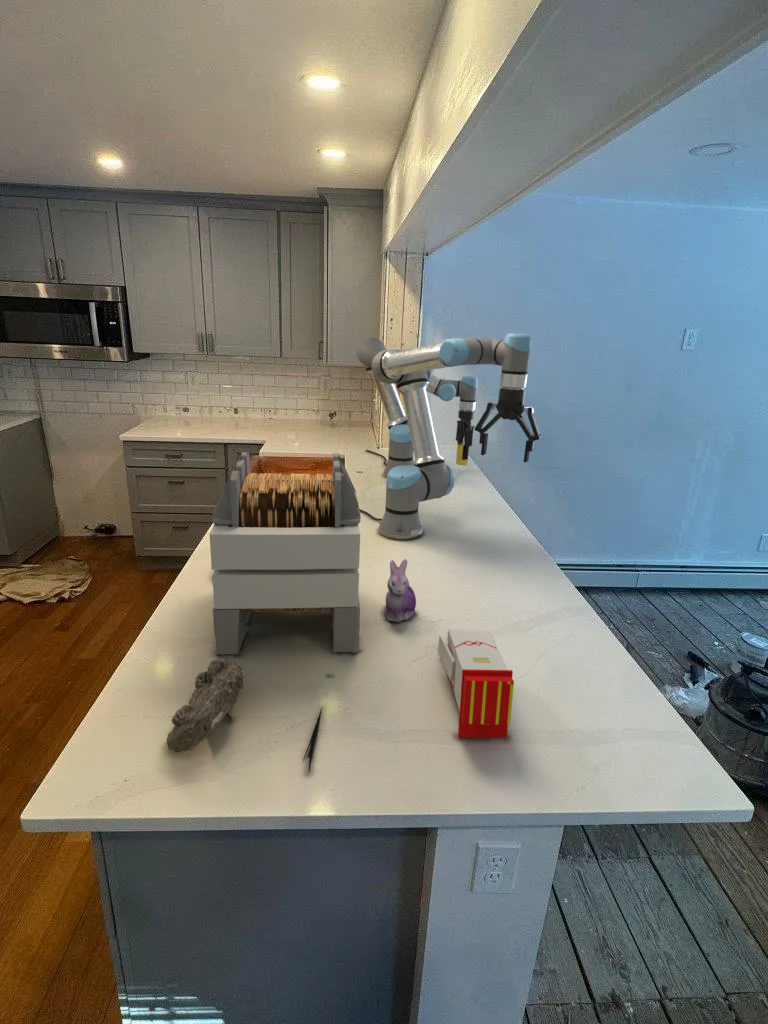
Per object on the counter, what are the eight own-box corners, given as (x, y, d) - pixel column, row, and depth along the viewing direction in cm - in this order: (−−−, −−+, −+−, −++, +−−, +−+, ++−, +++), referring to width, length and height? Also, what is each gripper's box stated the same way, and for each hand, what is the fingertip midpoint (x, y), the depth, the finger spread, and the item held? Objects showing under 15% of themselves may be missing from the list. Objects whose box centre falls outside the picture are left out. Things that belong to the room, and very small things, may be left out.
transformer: (234, 586, 158) (226, 442, 144) (351, 584, 161) (355, 445, 148) (213, 657, 126) (200, 481, 112) (359, 653, 130) (365, 483, 116)
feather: (331, 679, 122) (336, 673, 122) (307, 777, 96) (313, 769, 95) (324, 675, 122) (329, 669, 121) (298, 772, 95) (304, 764, 95)
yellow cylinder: (469, 464, 276) (471, 446, 273) (460, 465, 274) (462, 447, 270) (462, 462, 281) (464, 443, 278) (453, 463, 278) (455, 444, 275)
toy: (488, 613, 130) (523, 677, 101) (484, 667, 133) (517, 744, 104) (435, 612, 130) (455, 676, 101) (432, 666, 133) (451, 743, 103)
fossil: (192, 660, 117) (244, 628, 112) (224, 691, 120) (276, 661, 115) (142, 746, 98) (202, 712, 93) (182, 779, 101) (242, 748, 96)
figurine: (392, 627, 141) (395, 572, 136) (374, 608, 149) (376, 556, 144) (425, 619, 145) (429, 566, 140) (405, 601, 154) (408, 550, 149)
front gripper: (558, 391, 165) (547, 461, 172) (477, 382, 176) (470, 449, 184) (551, 394, 159) (541, 467, 166) (468, 384, 170) (462, 453, 177)
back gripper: (483, 413, 261) (477, 462, 269) (465, 406, 278) (460, 452, 285) (468, 413, 259) (463, 463, 267) (451, 406, 275) (447, 453, 283)
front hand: (504, 457), depth 175 cm, fingers open, 13 cm apart
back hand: (462, 457), depth 276 cm, fingers closed on yellow cylinder, 5 cm apart
